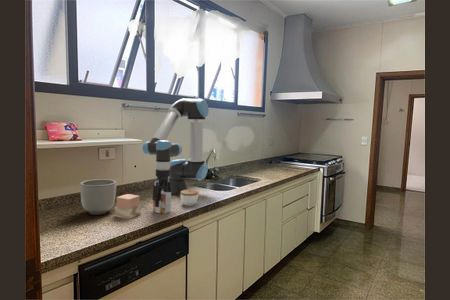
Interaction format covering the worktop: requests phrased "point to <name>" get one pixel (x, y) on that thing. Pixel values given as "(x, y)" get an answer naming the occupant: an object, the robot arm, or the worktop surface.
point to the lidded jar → (189, 197)
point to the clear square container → (127, 212)
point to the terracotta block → (128, 201)
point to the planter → (98, 195)
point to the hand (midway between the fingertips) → (161, 210)
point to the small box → (164, 202)
